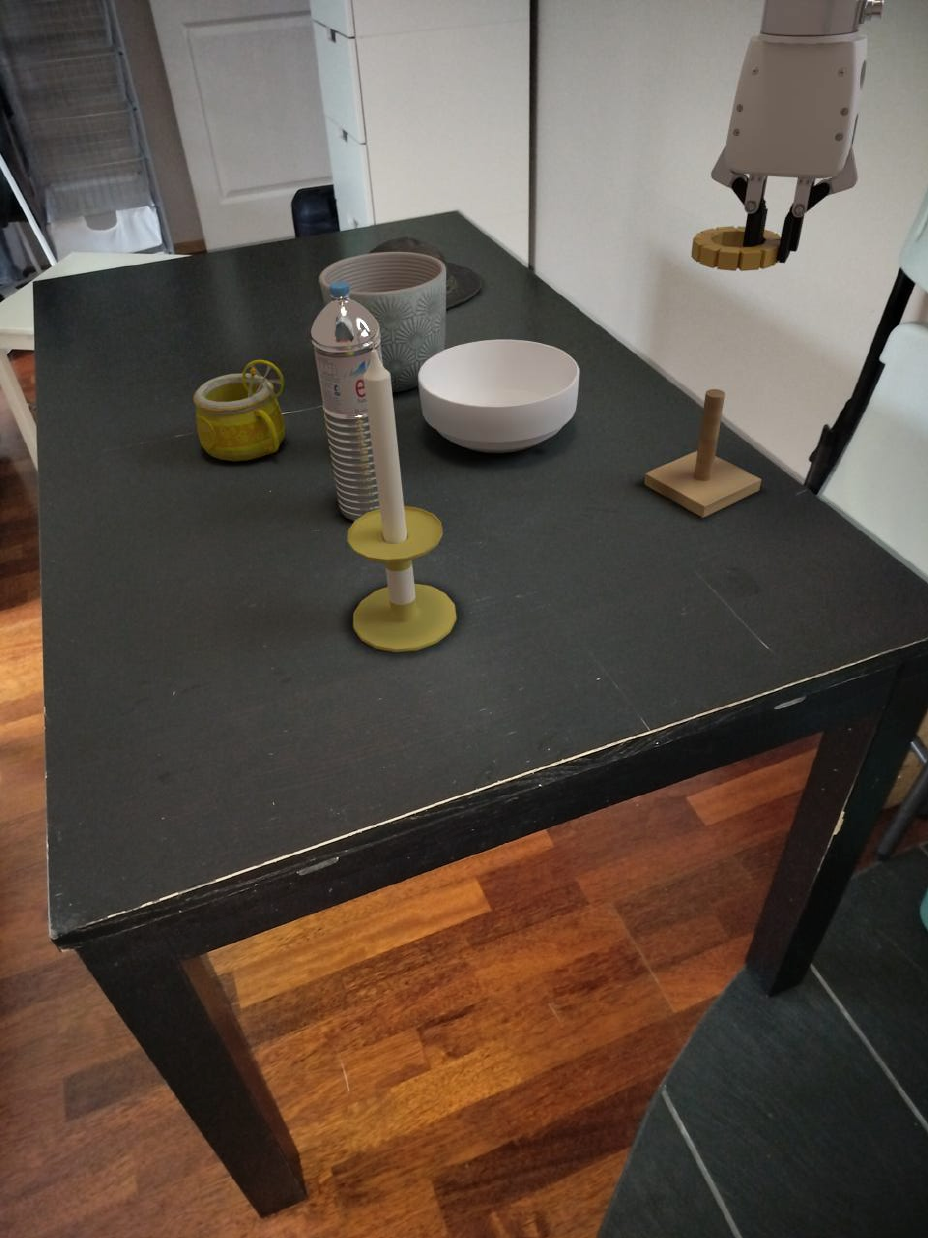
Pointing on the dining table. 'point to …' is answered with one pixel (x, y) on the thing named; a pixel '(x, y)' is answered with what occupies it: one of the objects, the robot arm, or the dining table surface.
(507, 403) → the bowl
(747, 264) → the ring
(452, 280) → the hat
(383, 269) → the planter
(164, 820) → the dining table surface
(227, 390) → the mug
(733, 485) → the peg stand
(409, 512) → the candle
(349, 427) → the water bottle
